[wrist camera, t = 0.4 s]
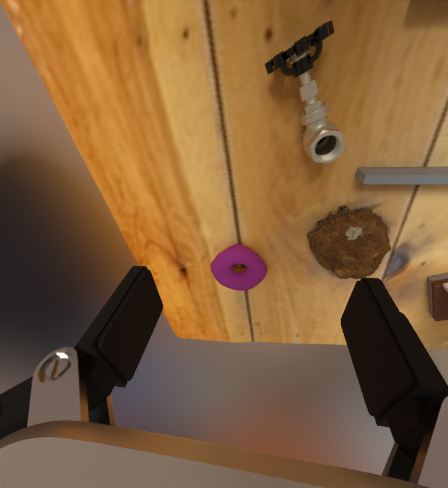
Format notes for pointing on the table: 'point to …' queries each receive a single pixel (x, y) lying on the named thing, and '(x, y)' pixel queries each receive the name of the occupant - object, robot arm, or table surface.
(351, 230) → the decorative rock
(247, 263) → the donut
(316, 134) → the valve
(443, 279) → the banded square pillar
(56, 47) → the table surface
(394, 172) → the dock cradle
